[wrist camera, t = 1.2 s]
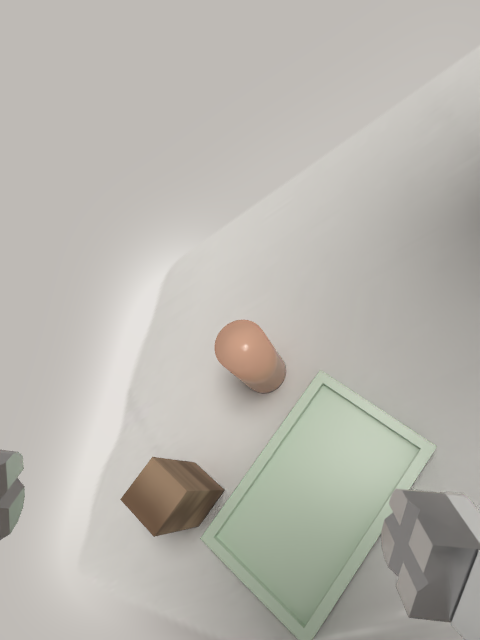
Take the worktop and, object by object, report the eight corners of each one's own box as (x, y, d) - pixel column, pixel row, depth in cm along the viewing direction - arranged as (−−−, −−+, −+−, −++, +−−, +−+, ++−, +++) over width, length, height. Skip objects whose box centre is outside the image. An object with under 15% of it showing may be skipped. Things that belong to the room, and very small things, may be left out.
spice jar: (260, 342, 49) (235, 310, 40) (294, 365, 46) (276, 337, 37) (235, 377, 48) (204, 352, 39) (268, 401, 46) (244, 381, 37)
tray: (321, 373, 45) (320, 369, 44) (434, 447, 39) (437, 446, 38) (205, 537, 42) (200, 538, 41) (308, 642, 37) (306, 648, 35)
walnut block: (194, 462, 46) (152, 456, 37) (224, 490, 44) (187, 490, 35) (169, 496, 45) (120, 499, 36) (198, 526, 43) (154, 536, 34)
